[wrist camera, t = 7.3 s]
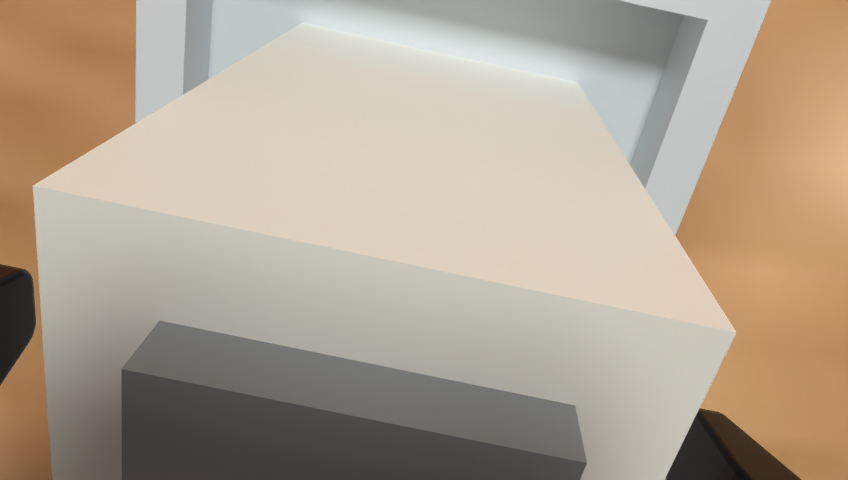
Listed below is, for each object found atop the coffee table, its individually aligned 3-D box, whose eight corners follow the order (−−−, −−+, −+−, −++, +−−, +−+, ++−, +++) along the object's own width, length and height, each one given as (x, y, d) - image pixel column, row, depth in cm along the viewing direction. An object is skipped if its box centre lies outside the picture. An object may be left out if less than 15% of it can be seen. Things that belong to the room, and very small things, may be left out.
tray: (737, -32, 11) (780, -25, 10) (550, 462, 17) (558, 521, 15) (186, -155, 11) (137, -168, 10) (166, 385, 16) (132, 436, 15)
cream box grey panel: (577, 82, 12) (769, 385, 4) (485, 389, 15) (497, 892, 7) (302, 22, 12) (-27, 221, 4) (265, 344, 15) (39, 806, 7)
